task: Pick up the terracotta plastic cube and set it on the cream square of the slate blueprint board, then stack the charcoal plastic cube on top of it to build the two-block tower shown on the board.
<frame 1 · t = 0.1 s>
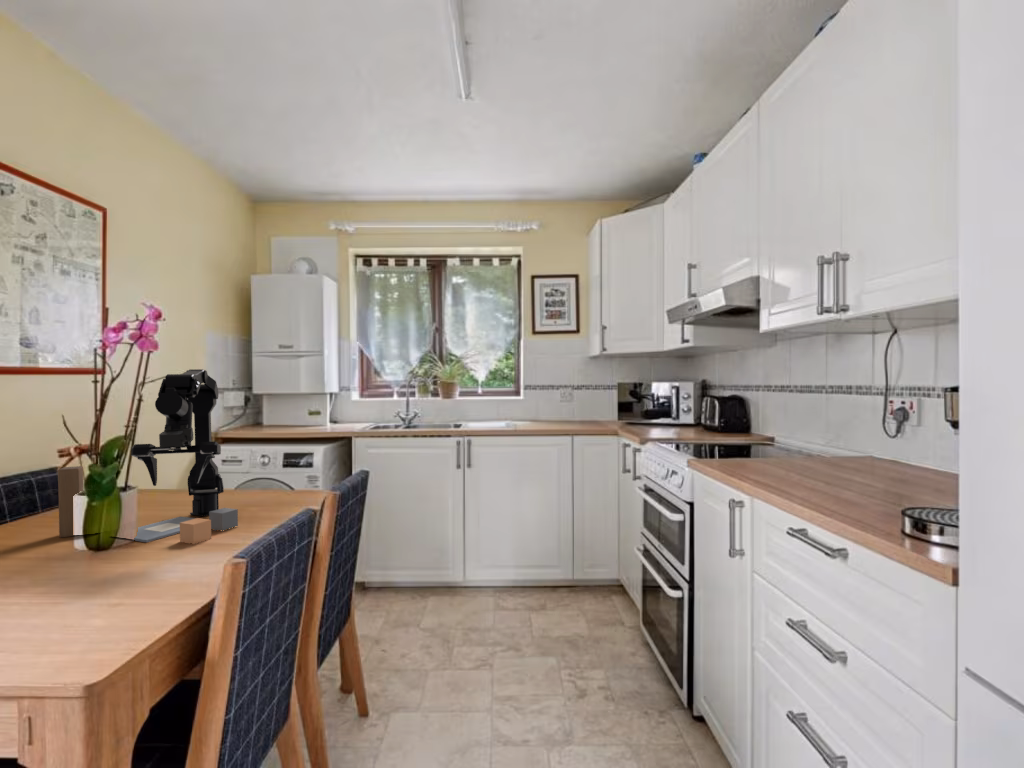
hand: (176, 484, 139), 15 cm above the table, tool pointing down, fingers open, 9 cm apart
wooden block: (82, 534, 151), on the table
terracotta cube: (195, 540, 145), on the table
blueprint board: (164, 529, 155), on the table
charcoal cube: (223, 528, 156), on the table
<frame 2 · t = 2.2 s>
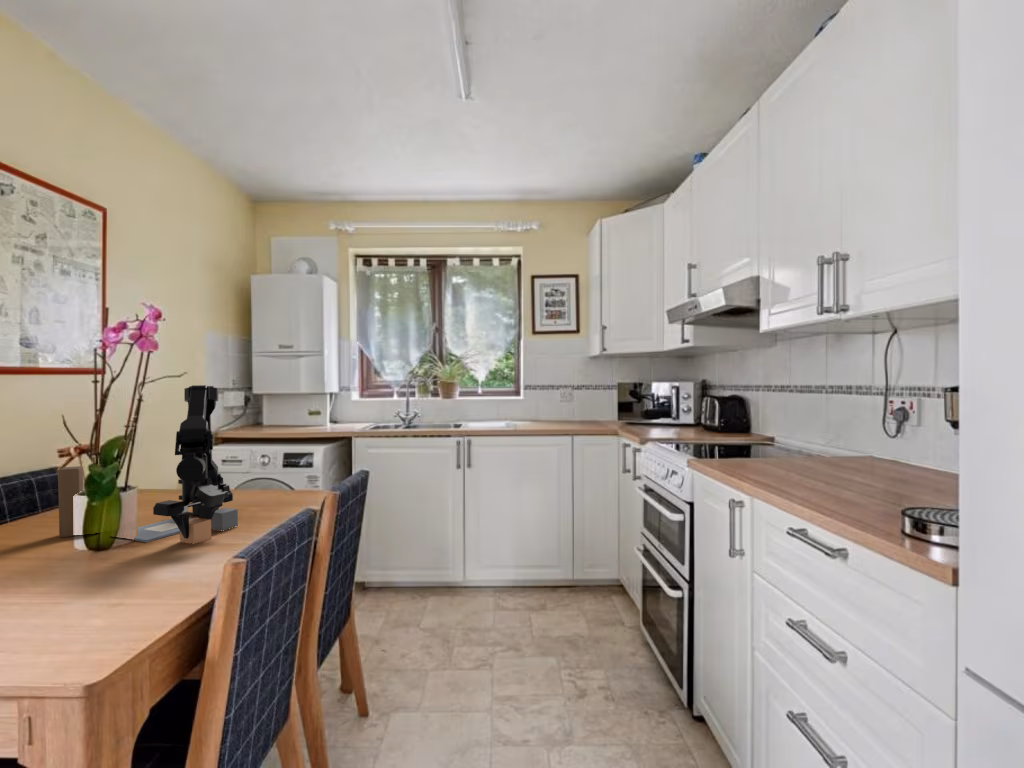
hand: (195, 535, 145), 1 cm above the table, tool pointing down, fingers closed on terracotta cube, 5 cm apart
terracotta cube: (195, 540, 145), on the table, touching gripper
everything else where it was.
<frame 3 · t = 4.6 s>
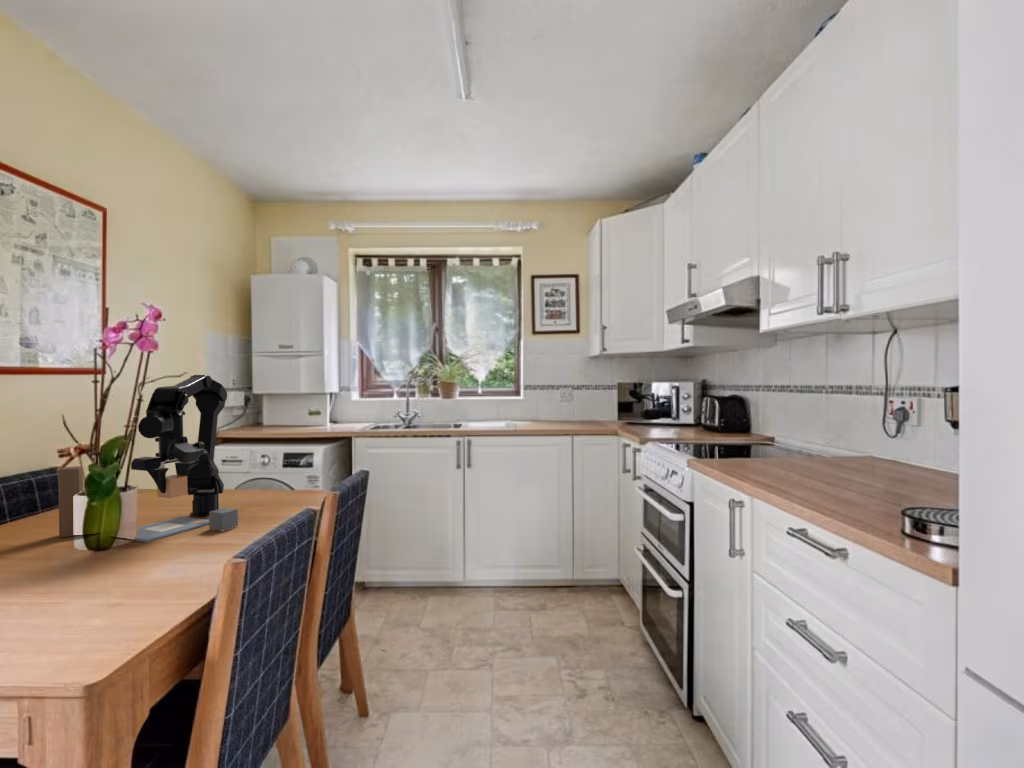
hand: (172, 490, 152), 11 cm above the table, tool pointing down, fingers closed on terracotta cube, 5 cm apart
terracotta cube: (172, 495, 152), point 10 cm above the table, touching gripper
everything else where it was.
when the fingers open (3 cm above the table, at t = 6.9 s): terracotta cube drops 2 cm, resting on blueprint board.
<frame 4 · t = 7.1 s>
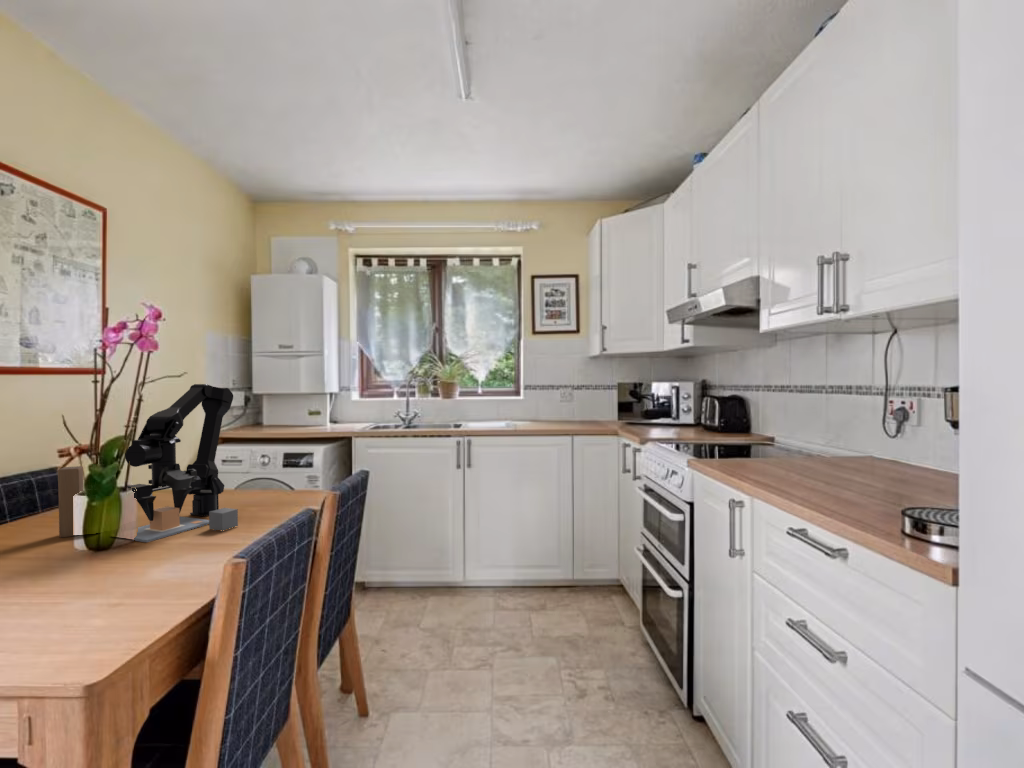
hand: (164, 517, 155), 3 cm above the table, tool pointing down, fingers open, 7 cm apart
terracotta cube: (164, 527, 155), point 1 cm above the table, touching blueprint board
everything else where it was.
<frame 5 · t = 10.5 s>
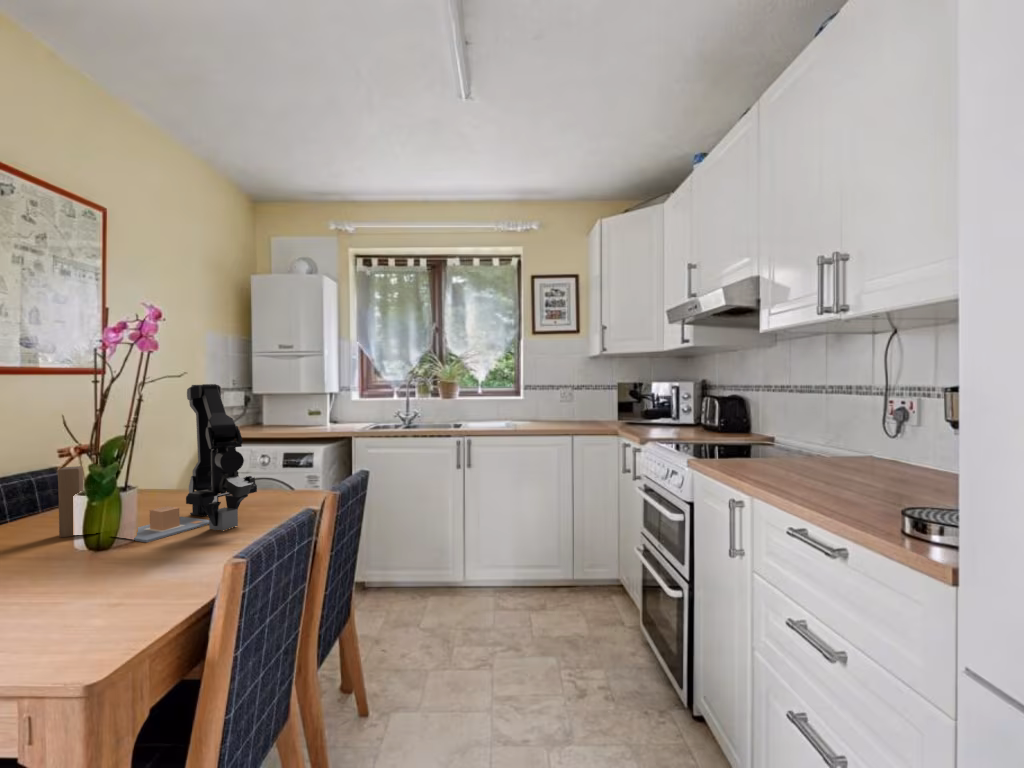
hand: (223, 523, 156), 1 cm above the table, tool pointing down, fingers closed on charcoal cube, 5 cm apart
charcoal cube: (223, 528, 156), on the table, touching gripper
everything else where it was.
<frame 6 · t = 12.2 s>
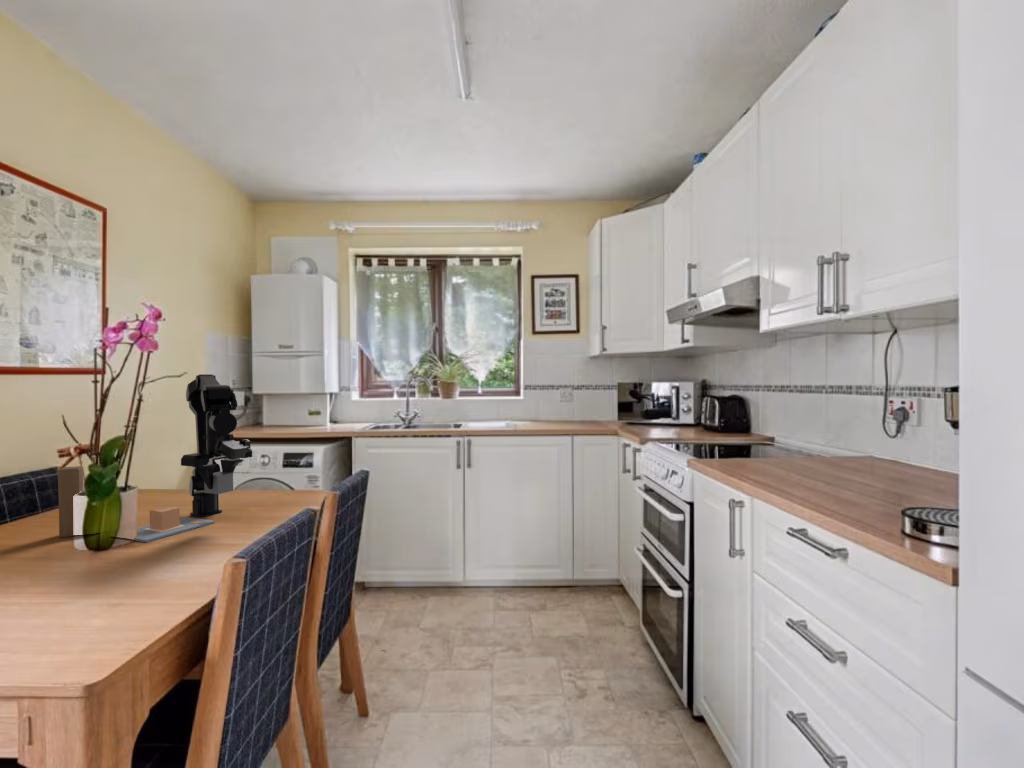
hand: (218, 487, 156), 11 cm above the table, tool pointing down, fingers closed on charcoal cube, 5 cm apart
charcoal cube: (219, 491, 156), point 10 cm above the table, touching gripper
everything else where it was.
when the fingers open (8 cm above the table, at t = 14.2 s): charcoal cube drops 1 cm, resting on terracotta cube.
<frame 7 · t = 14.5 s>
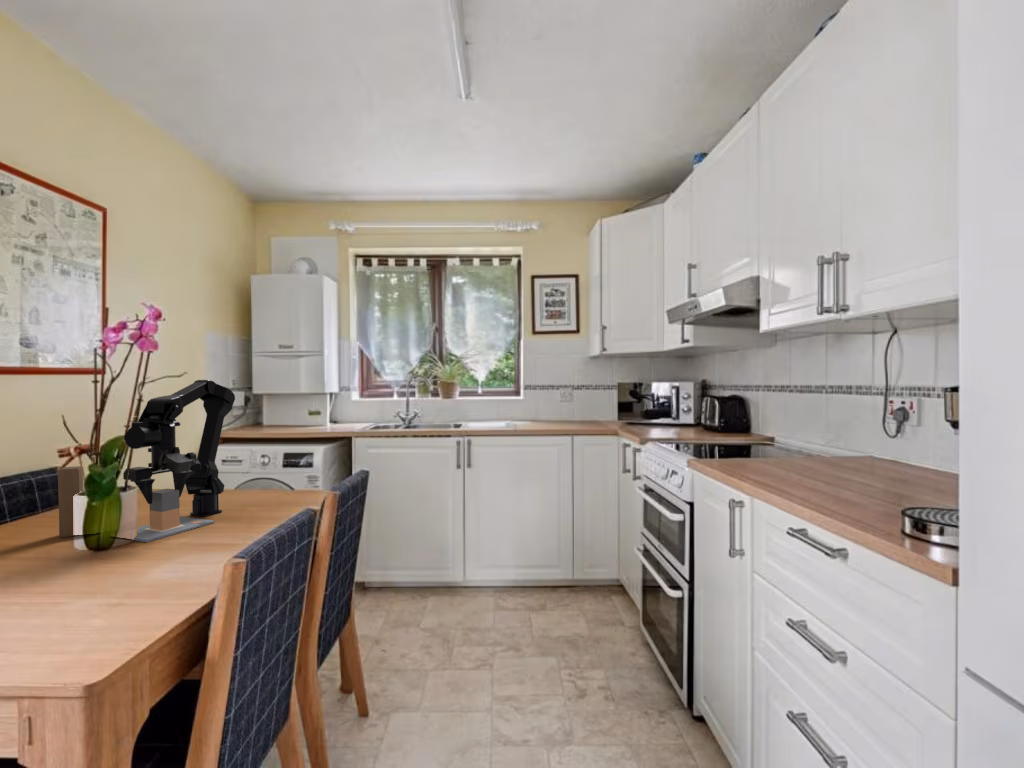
hand: (164, 500, 155), 8 cm above the table, tool pointing down, fingers open, 8 cm apart
terracotta cube: (164, 527, 155), point 1 cm above the table, touching blueprint board, charcoal cube
charcoal cube: (164, 509, 155), point 6 cm above the table, touching terracotta cube
everything else where it was.
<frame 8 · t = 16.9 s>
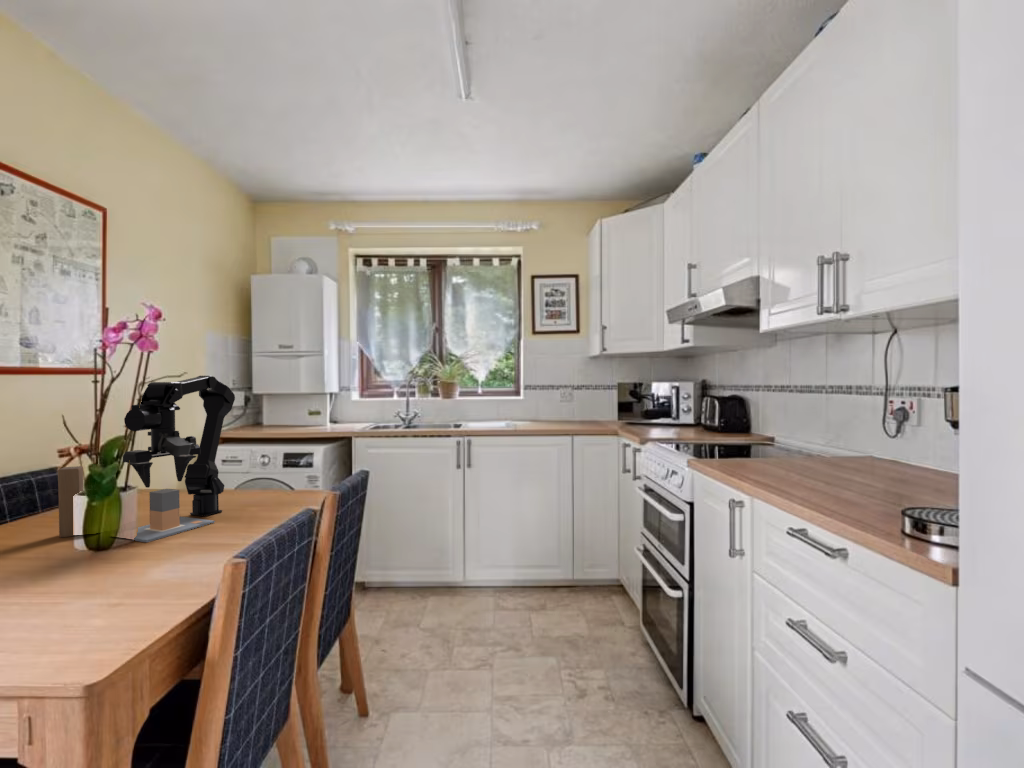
hand: (164, 484, 155), 12 cm above the table, tool pointing down, fingers open, 9 cm apart
nothing on the table moved.
at the end: terracotta cube 0.0 cm off-centre on the blueprint board, point 0.6 cm above the blueprint board's base; charcoal cube 0.1 cm off-centre on the terracotta cube, point 5.0 cm above the terracotta cube's base; charcoal cube tilted 0° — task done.
